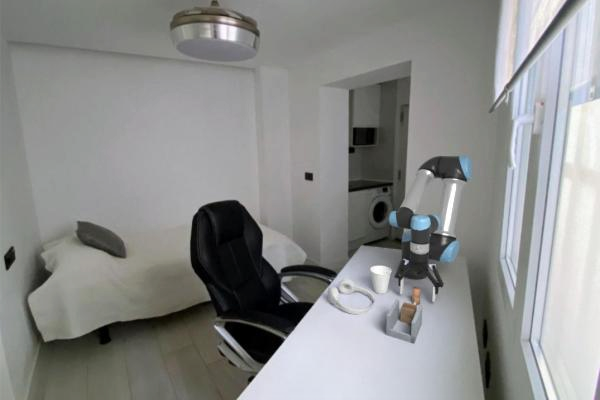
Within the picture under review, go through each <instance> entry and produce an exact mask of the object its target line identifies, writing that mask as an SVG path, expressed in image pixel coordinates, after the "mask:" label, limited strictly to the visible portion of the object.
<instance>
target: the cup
mask: <svg viewBox="0 0 600 400" xmlns="http://www.w3.org/2000/svg"><path fill="white" fill-rule="evenodd" d="M369 271H370V274H371V281H372V286H373V291H374V292H375V293H376V294H378V295H385V294H386V293H387V292H388V288H389V284H390V278H391V274H392V268H391V267H388V266H385V265H373V266H371V267H370V268H369Z"/></svg>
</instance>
